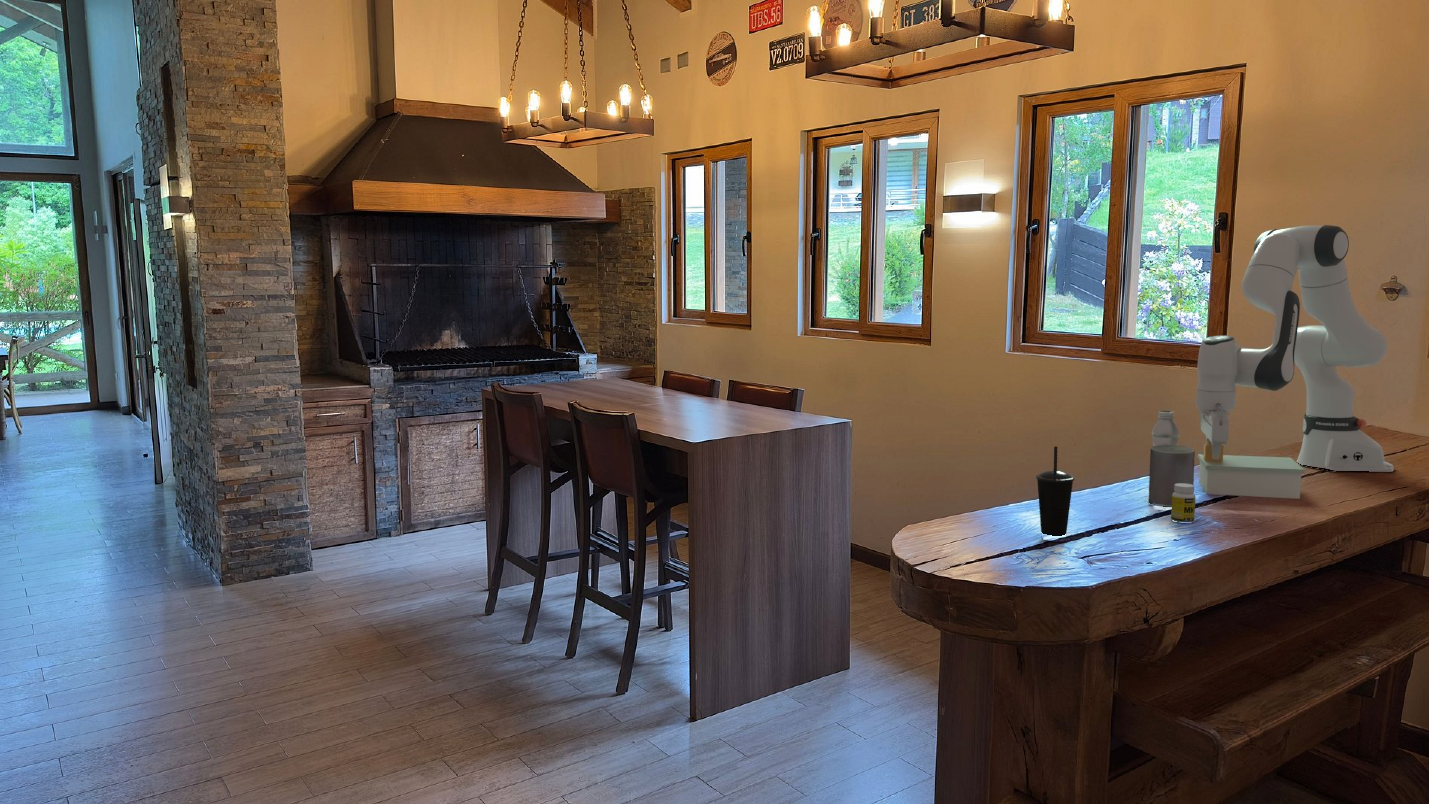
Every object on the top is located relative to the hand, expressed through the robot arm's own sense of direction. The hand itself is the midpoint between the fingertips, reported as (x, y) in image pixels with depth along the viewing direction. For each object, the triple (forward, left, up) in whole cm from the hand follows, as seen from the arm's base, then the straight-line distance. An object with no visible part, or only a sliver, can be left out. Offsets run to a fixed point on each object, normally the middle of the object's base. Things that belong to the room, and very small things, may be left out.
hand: (1213, 455), depth 239 cm
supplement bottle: (+10, +33, -9) cm, 36 cm away
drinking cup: (+37, +55, -9) cm, 67 cm away
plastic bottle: (+11, -1, -9) cm, 14 cm away
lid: (-8, 0, -4) cm, 9 cm away
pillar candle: (+11, +17, -9) cm, 22 cm away
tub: (-8, 0, -9) cm, 12 cm away
